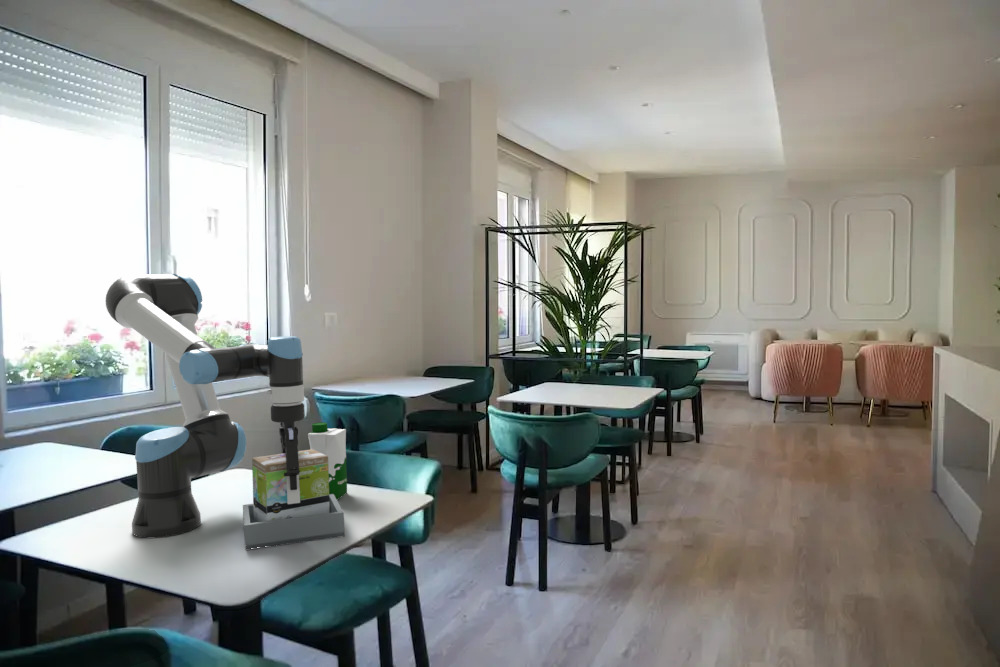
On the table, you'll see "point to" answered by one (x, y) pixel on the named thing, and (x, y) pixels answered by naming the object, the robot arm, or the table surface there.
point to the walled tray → (293, 527)
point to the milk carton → (331, 454)
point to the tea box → (274, 486)
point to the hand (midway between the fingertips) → (291, 496)
